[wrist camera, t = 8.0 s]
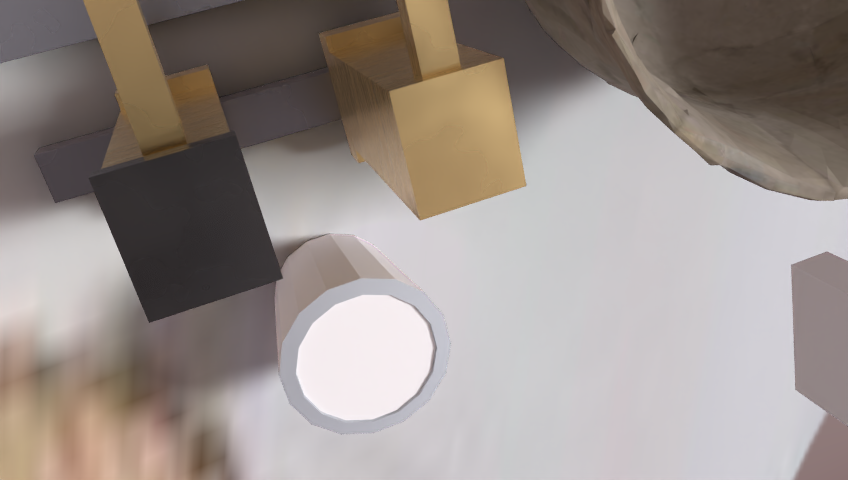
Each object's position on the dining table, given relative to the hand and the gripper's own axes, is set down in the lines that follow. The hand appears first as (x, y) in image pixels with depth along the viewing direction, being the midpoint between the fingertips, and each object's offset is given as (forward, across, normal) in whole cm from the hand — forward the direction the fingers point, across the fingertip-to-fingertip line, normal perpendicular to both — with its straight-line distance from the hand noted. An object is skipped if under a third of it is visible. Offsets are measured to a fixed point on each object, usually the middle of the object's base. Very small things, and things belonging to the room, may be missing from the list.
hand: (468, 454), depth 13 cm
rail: (+23, -2, +2) cm, 23 cm away
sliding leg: (+21, -4, +5) cm, 22 cm away
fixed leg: (+22, +4, +5) cm, 23 cm away
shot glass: (+23, 0, -7) cm, 24 cm away
